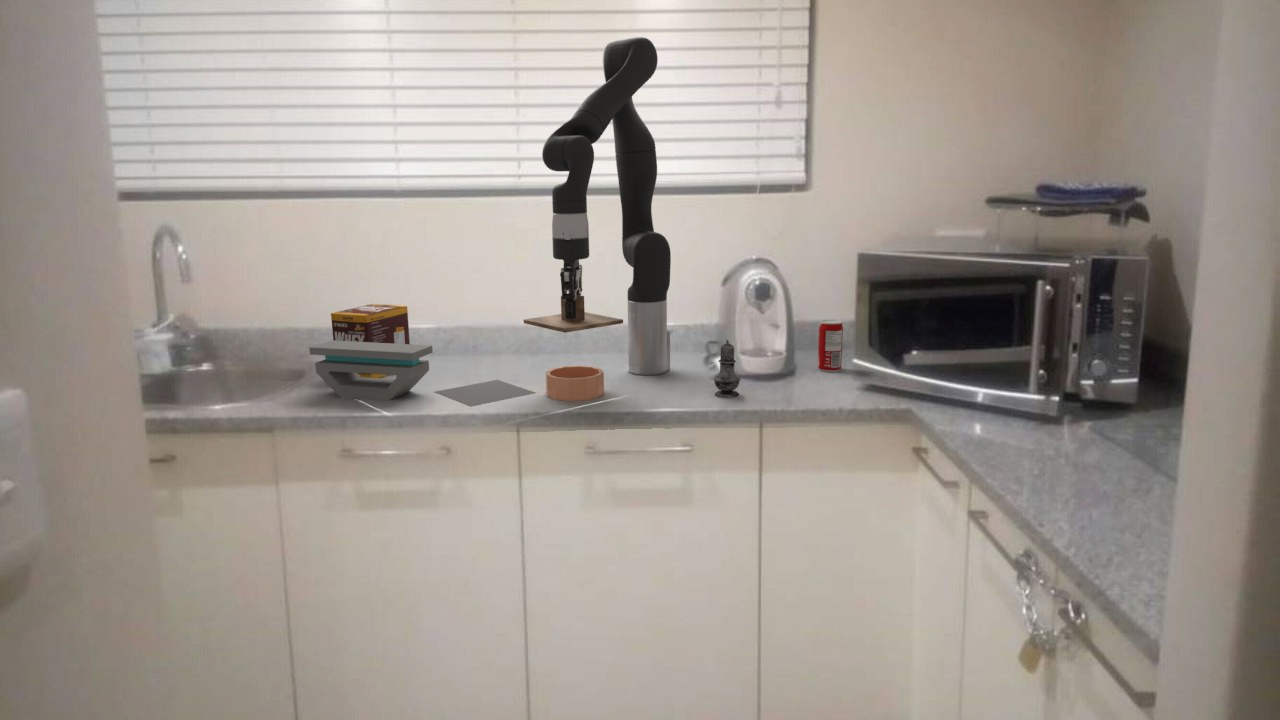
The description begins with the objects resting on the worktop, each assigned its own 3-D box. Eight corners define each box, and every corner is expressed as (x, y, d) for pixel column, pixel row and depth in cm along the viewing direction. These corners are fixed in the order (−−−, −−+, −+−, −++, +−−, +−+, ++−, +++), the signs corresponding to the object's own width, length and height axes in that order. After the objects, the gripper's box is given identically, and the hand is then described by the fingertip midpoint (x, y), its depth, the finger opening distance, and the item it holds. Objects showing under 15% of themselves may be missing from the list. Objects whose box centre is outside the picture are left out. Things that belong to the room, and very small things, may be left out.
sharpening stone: (314, 396, 185) (309, 347, 183) (336, 387, 193) (331, 340, 190) (416, 404, 178) (412, 353, 176) (435, 394, 186) (432, 345, 183)
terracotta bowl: (580, 385, 192) (580, 363, 191) (614, 395, 183) (614, 372, 182) (536, 394, 185) (535, 371, 184) (568, 405, 176) (568, 381, 175)
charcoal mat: (497, 381, 196) (497, 379, 196) (536, 394, 185) (536, 392, 185) (433, 393, 186) (433, 391, 186) (470, 408, 174) (470, 406, 174)
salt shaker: (739, 398, 179) (740, 342, 177) (711, 397, 181) (711, 341, 178) (741, 391, 185) (742, 337, 182) (714, 390, 186) (715, 336, 184)
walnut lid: (580, 314, 191) (579, 289, 190) (623, 323, 180) (622, 295, 179) (523, 323, 181) (522, 296, 180) (565, 332, 170) (564, 303, 169)
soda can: (825, 366, 208) (827, 317, 205) (845, 369, 204) (847, 319, 202) (813, 370, 204) (814, 320, 201) (833, 373, 200) (835, 323, 198)
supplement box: (335, 377, 202) (329, 312, 198) (378, 364, 216) (373, 303, 212) (370, 381, 198) (365, 315, 195) (412, 367, 212) (407, 305, 208)
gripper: (558, 233, 184) (561, 311, 188) (546, 238, 170) (549, 322, 174) (593, 232, 183) (595, 311, 187) (583, 238, 169) (585, 322, 173)
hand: (572, 316), depth 180 cm, fingers closed on walnut lid, 5 cm apart
